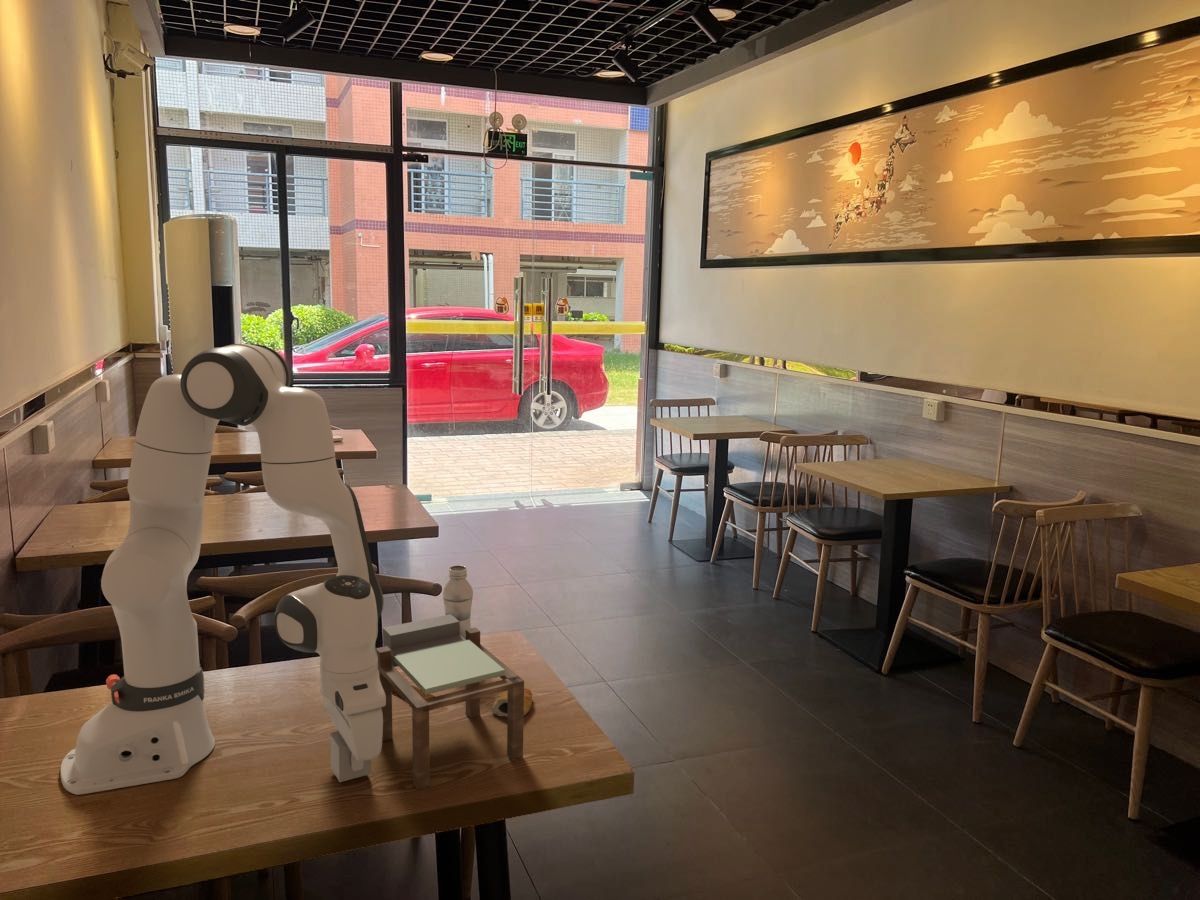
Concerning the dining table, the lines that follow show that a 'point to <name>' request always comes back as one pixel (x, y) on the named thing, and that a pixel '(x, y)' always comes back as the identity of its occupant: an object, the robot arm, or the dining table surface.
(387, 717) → the stand
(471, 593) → the plastic bottle
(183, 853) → the dining table surface
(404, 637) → the trapdoor
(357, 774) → the light grey block
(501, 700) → the pastry
